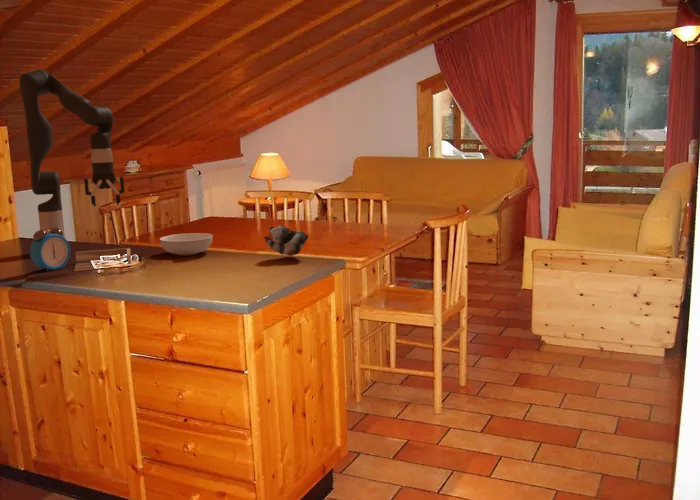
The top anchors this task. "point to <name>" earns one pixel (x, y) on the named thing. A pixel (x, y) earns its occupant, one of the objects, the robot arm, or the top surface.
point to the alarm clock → (49, 249)
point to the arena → (97, 257)
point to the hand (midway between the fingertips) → (106, 205)
